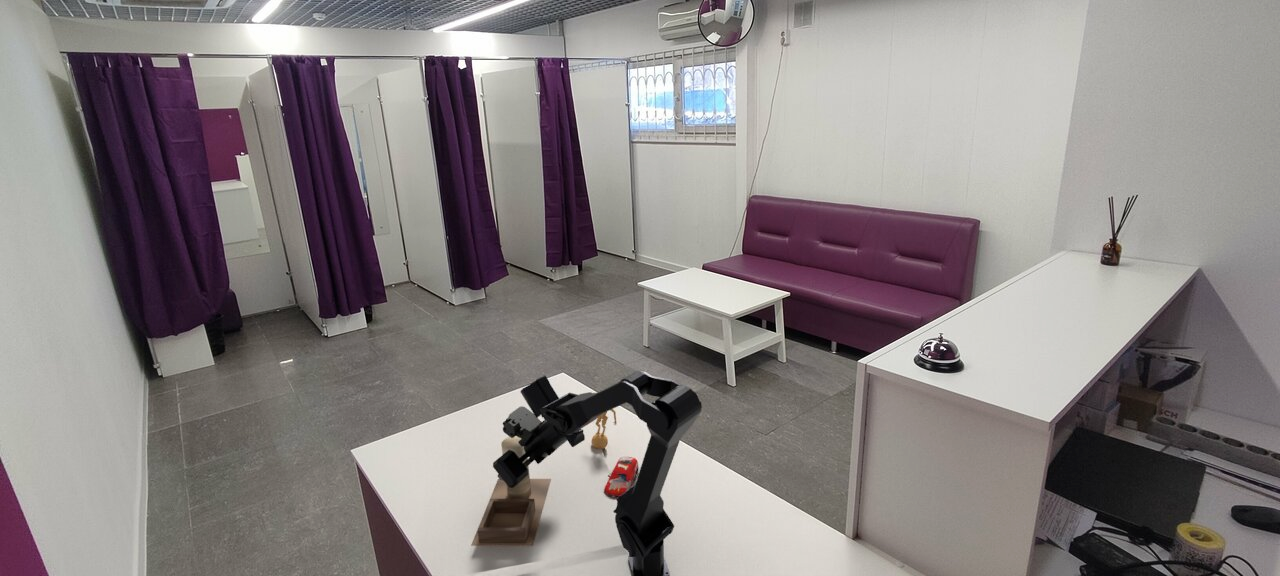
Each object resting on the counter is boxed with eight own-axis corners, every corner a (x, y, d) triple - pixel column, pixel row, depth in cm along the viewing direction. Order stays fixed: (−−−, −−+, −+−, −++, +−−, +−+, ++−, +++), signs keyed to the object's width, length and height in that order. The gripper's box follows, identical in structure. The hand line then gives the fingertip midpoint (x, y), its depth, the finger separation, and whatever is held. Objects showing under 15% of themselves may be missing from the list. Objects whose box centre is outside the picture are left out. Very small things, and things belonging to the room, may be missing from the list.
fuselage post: (531, 499, 124) (526, 447, 120) (507, 503, 123) (501, 451, 119) (530, 484, 129) (525, 434, 125) (507, 488, 128) (501, 437, 124)
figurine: (581, 447, 144) (578, 405, 140) (595, 435, 148) (592, 393, 144) (609, 457, 140) (607, 413, 136) (623, 444, 144) (621, 402, 140)
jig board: (533, 550, 112) (531, 532, 111) (471, 550, 113) (469, 532, 111) (551, 483, 131) (550, 467, 130) (498, 483, 132) (496, 467, 130)
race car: (624, 506, 124) (624, 490, 123) (600, 501, 125) (599, 486, 124) (642, 468, 136) (641, 453, 134) (620, 464, 137) (619, 450, 136)
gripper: (554, 381, 124) (518, 414, 133) (495, 425, 108) (458, 459, 117) (587, 422, 123) (549, 453, 132) (532, 472, 107) (492, 503, 116)
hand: (513, 465), depth 124 cm, fingers open, 9 cm apart
